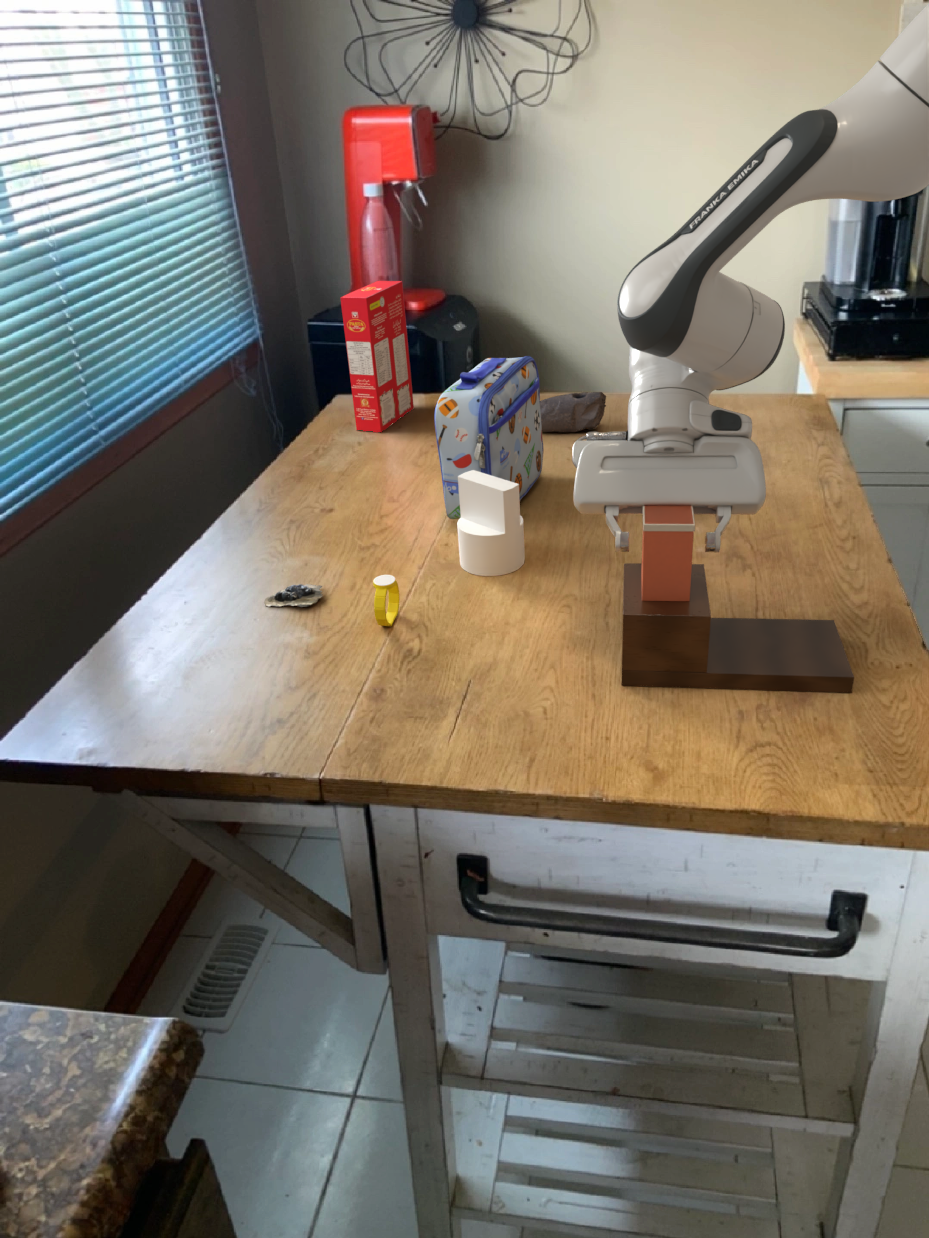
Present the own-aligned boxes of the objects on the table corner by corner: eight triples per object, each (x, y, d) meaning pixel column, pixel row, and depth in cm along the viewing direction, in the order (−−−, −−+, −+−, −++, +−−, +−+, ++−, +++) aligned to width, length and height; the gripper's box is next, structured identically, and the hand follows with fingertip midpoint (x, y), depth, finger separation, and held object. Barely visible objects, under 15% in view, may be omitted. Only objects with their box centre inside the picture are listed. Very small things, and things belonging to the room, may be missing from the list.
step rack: (831, 634, 112) (841, 565, 108) (851, 692, 102) (863, 619, 98) (622, 630, 116) (623, 563, 112) (621, 685, 106) (622, 614, 102)
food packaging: (390, 407, 199) (377, 280, 186) (413, 409, 197) (402, 281, 185) (356, 430, 187) (340, 297, 175) (380, 432, 185) (366, 298, 173)
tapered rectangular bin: (687, 575, 108) (692, 500, 104) (690, 602, 103) (695, 524, 99) (640, 574, 109) (642, 500, 105) (640, 601, 104) (643, 524, 99)
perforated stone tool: (525, 437, 178) (524, 400, 174) (525, 428, 182) (524, 392, 179) (607, 434, 177) (608, 396, 173) (605, 424, 181) (605, 388, 178)
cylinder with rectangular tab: (538, 558, 134) (535, 477, 128) (493, 582, 129) (488, 499, 123) (491, 541, 140) (487, 463, 134) (446, 563, 135) (440, 482, 129)
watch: (385, 608, 125) (381, 567, 122) (406, 610, 124) (402, 568, 121) (371, 632, 120) (366, 589, 117) (392, 633, 119) (388, 591, 116)
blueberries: (324, 608, 126) (322, 595, 125) (262, 615, 125) (259, 603, 124) (323, 584, 132) (321, 572, 131) (264, 591, 131) (262, 579, 130)
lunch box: (501, 540, 140) (493, 391, 129) (434, 534, 143) (421, 388, 132) (550, 472, 162) (548, 339, 151) (491, 468, 166) (485, 338, 155)
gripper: (571, 419, 105) (567, 539, 102) (767, 417, 102) (769, 541, 98) (574, 444, 111) (570, 559, 108) (758, 443, 108) (760, 561, 104)
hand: (667, 550), depth 103 cm, fingers open, 8 cm apart
